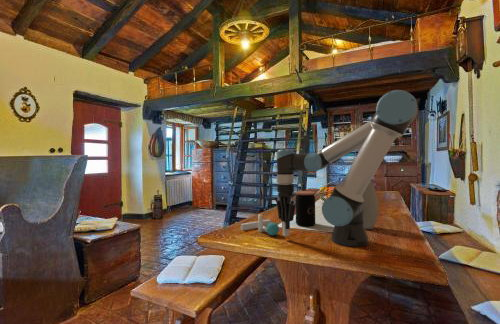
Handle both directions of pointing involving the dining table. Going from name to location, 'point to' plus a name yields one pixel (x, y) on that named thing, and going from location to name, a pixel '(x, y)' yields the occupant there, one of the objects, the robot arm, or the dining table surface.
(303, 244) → the dining table surface
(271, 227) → the ball
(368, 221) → the bowling pin
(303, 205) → the coffee jar
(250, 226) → the back wall
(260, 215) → the back pin
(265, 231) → the front pin
